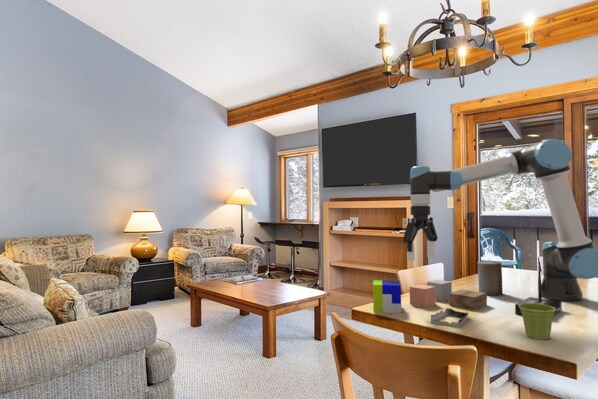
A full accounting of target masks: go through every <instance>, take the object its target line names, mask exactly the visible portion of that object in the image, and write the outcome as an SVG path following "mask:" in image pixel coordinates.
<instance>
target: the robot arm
mask: <svg viewBox="0 0 598 399" xmlns="http://www.w3.org/2000/svg"><path fill="white" fill-rule="evenodd" d="M572 157H573V153H572V149H571V147H570V146H569V145H568V144H567V143H566V142H565V141H562V140H561V139H557V138H555V139H554V138H550V139H545V140H541V141H539V142H536V143H533V144H531V145H530V144H529V145H528V146H525V147H523V148H521V149H518V150H516V151H512V152H509V153H507V154H506V156H503V157H498V158H494V159H490V160H486V161H482V162H479V163H476V164H475V163H474V164H471V165H470V164H469V165H466V166H463V167H458V168H455V169H451V170H446V171H445V170H443V171H431V168H430V167H429V166H428V165H427V166H426V165H425V166H424V165H421V166H419V165H417V166H412V167H411V168H410V171H409V172H410V174H409V176H410V177H409V185H410V186H409V187H410V205H411V206H410V215H411V216H413V217H408V218H407V223H406V228H405V232H404V235H403V238H402V241H403V243H405V244H406V252H407V260H408V261H414V262H415V259H416V258H415V243H414V241H415V239H416V236H417V235H418V232H419V231H420V230H422V231H423V233H424V234H425V236H426V239H427V240H426V254H427V255H426V257H427V258H431V259H432V258H435V242H437V241H438V234H437V231H436V228H435V225H434V218H433V216H430V215H431V206H430V205H431V192H435V193H437V192H442V191H443V192H444V191H457V190H460V189H461V188H462V186H466V185H470V184H474V183H478V182H482V181H487V180H491V179H495V178H499V177H502V176H503V177H504V176H508V175H512V176H517V175H522V174H530V173H531V174H532V173H533V174H534V176H535V179H536V180H538V181H540V182H541V184H542V188H543V191H544V194H545V198H546V201H547V205H548V208H549V211H550V214H551V218H552V221H553V225H554V227H555V231H556V234H557V237H558V241H546V242H543V243H542V250H541V252H542V267H543V269H542V271H543V272H542V273H543V278H542V280H541V288H542V298H543V299H548V300H555V301H565V302H577V301H578V302H579V301H583V298H584V297H583V291H582V289H581V287H580V283H579V281H578V279H581V280H590V279H594V278H596V277H598V249H596V248H595V246H594V243H593V240H592V239H591V238H589V237H587V236H586V233H585V231H584V227H583V224H582V220H581V216H580V215H579V210H578V208H577V204H576V201H575V198H574V195H573V191H572V188H571V184H570V181H569V178H568V175H569V173H570V171H571V168H570V165H569V164H570V162H571V160H572Z"/></svg>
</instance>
